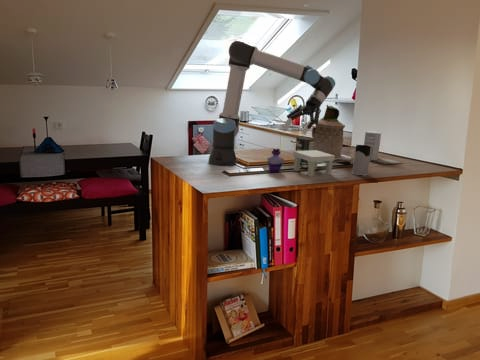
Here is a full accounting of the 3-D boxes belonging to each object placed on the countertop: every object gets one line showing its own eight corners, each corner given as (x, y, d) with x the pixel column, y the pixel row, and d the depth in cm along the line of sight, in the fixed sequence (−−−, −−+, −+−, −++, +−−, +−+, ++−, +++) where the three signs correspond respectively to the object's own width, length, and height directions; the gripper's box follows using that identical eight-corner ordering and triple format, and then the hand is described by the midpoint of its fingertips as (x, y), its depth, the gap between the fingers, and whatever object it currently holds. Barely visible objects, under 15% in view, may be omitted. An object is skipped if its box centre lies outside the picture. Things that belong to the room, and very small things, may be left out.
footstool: (309, 176, 228) (311, 157, 226) (292, 169, 241) (293, 151, 238) (332, 174, 236) (335, 155, 233) (314, 168, 248) (316, 150, 246)
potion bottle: (286, 172, 235) (288, 149, 232) (276, 174, 229) (278, 150, 226) (273, 168, 240) (274, 146, 237) (262, 171, 234) (264, 148, 231)
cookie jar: (352, 160, 276) (359, 107, 268) (315, 160, 269) (320, 105, 262) (335, 152, 299) (340, 103, 291) (299, 152, 293) (304, 101, 285)
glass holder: (348, 173, 241) (351, 145, 237) (362, 170, 251) (365, 143, 247) (362, 176, 235) (366, 148, 231) (376, 173, 245) (380, 146, 241)
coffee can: (299, 164, 255) (301, 139, 252) (291, 160, 265) (293, 136, 261) (315, 164, 259) (318, 139, 256) (306, 160, 268) (309, 136, 265)
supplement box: (377, 160, 280) (381, 133, 276) (361, 159, 283) (365, 132, 278) (377, 158, 289) (381, 131, 284) (362, 156, 291) (366, 130, 287)
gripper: (336, 108, 235) (315, 139, 230) (300, 103, 254) (279, 132, 248) (331, 98, 231) (308, 129, 225) (295, 94, 249) (273, 122, 243)
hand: (293, 130), depth 236 cm, fingers open, 13 cm apart
